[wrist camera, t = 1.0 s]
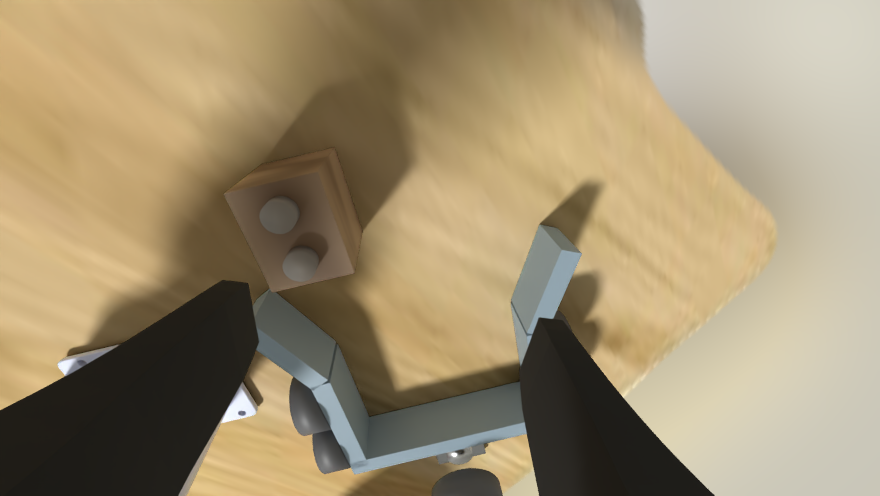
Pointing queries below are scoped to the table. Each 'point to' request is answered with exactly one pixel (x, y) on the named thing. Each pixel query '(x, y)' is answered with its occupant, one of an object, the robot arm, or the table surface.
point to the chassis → (415, 428)
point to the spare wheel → (468, 484)
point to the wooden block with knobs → (298, 219)
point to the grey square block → (461, 455)
